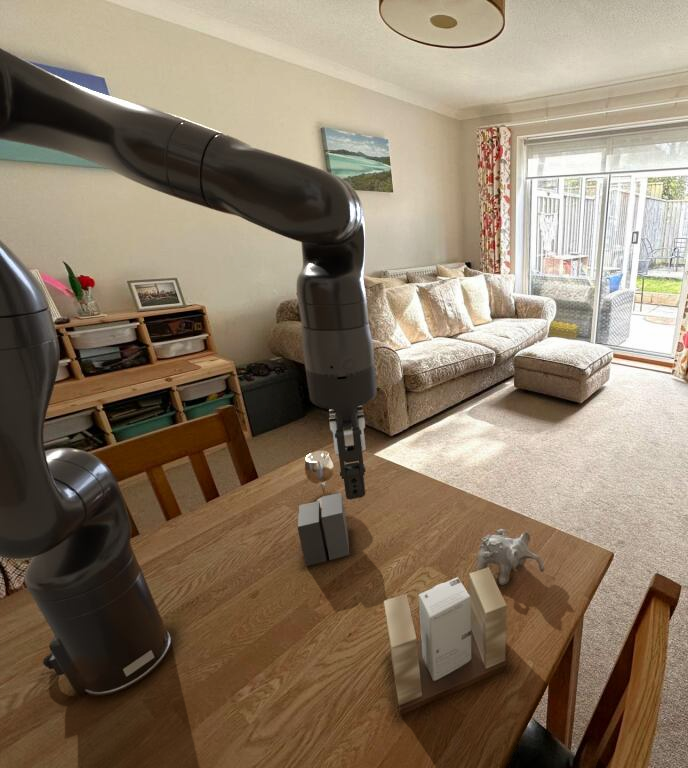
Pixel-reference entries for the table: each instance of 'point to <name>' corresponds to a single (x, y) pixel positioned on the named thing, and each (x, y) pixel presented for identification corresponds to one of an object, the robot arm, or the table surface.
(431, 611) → the cosmetic box
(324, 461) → the wineglass
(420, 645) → the book board
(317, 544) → the grey books
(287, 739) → the table surface
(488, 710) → the table surface
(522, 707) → the table surface
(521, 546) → the gray elephant figurine
